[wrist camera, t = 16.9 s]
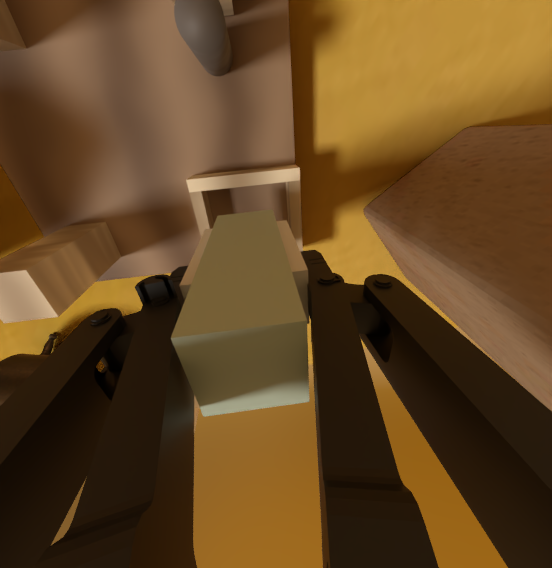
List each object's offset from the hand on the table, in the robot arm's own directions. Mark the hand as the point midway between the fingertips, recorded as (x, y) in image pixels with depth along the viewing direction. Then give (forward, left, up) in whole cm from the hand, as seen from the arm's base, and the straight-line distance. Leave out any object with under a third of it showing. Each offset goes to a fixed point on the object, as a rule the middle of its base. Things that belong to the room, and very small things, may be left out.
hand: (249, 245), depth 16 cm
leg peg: (0, 0, -1) cm, 1 cm away
